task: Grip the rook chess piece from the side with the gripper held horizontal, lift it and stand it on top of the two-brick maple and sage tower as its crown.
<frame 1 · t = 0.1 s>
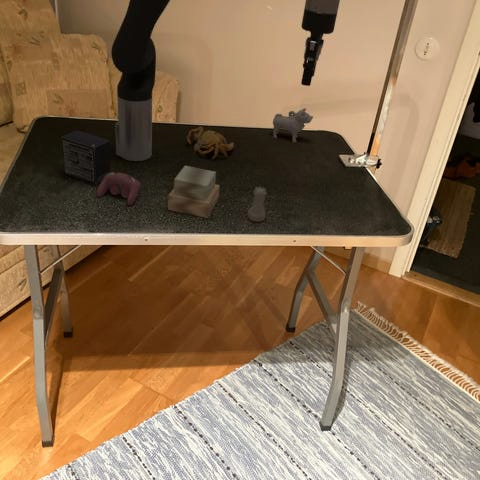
hand: (307, 80, 121), 29 cm above the table, tool pointing down, fingers open, 8 cm apart
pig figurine: (288, 138, 166), on the table
video game controller: (119, 198, 122), on the table
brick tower: (193, 204, 123), on the table
crab model: (211, 150, 152), on the table
rook chess piece: (256, 218, 121), on the table
small box: (88, 176, 130), on the table
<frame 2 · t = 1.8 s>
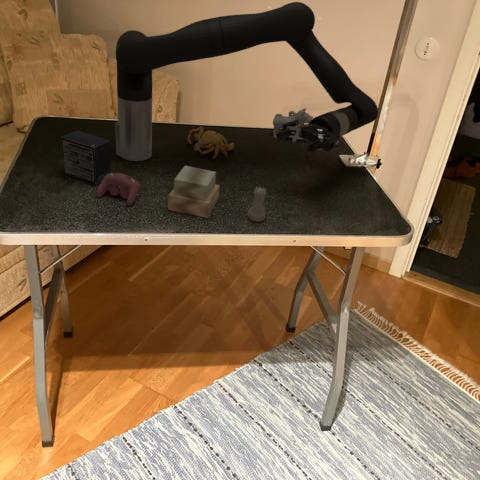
hand: (294, 142, 119), 17 cm above the table, tool horizontal, fingers open, 8 cm apart
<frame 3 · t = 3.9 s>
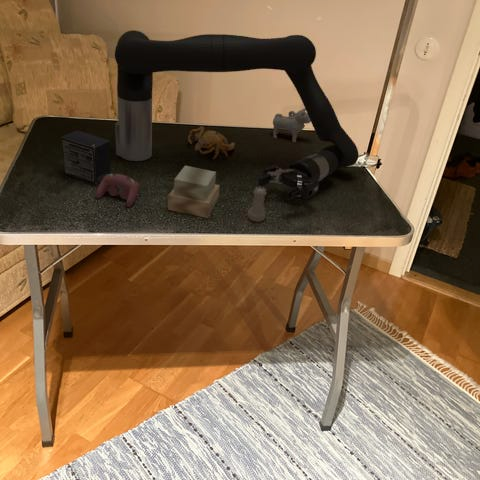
hand: (273, 189, 122), 6 cm above the table, tool horizontal, fingers open, 8 cm apart
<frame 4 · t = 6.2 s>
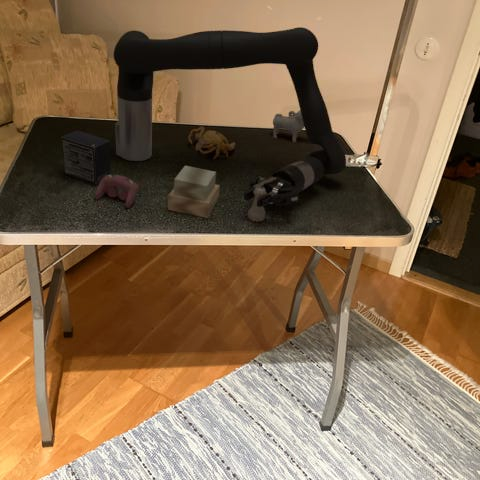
hand: (252, 199, 116), 6 cm above the table, tool horizontal, fingers closed on rook chess piece, 3 cm apart
rook chess piece: (256, 218, 121), on the table, touching gripper
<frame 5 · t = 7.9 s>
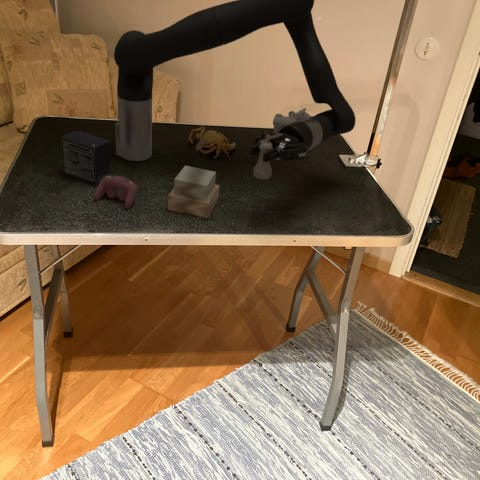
hand: (257, 154, 110), 18 cm above the table, tool horizontal, fingers closed on rook chess piece, 3 cm apart
rook chess piece: (261, 176, 115), point 11 cm above the table, touching gripper
when the fingers open (15 cm above the table, at t = 10.0 s): rook chess piece drops 1 cm, resting on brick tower.
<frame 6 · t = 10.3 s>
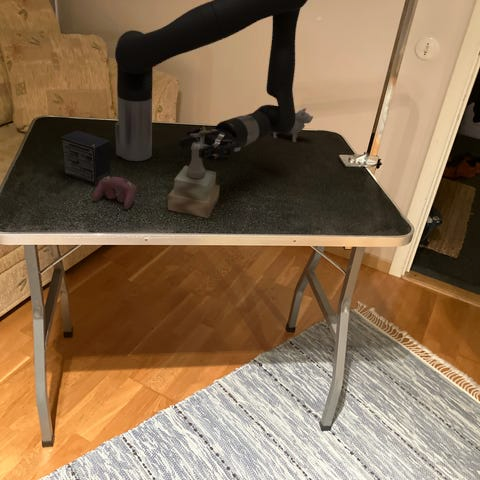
hand: (190, 149, 113), 16 cm above the table, tool horizontal, fingers open, 6 cm apart
rook chess piece: (195, 175, 119), point 8 cm above the table, touching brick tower
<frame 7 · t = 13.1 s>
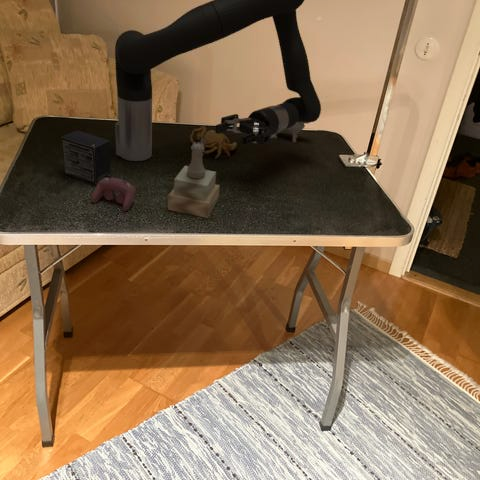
hand: (229, 135, 122), 16 cm above the table, tool horizontal, fingers open, 8 cm apart
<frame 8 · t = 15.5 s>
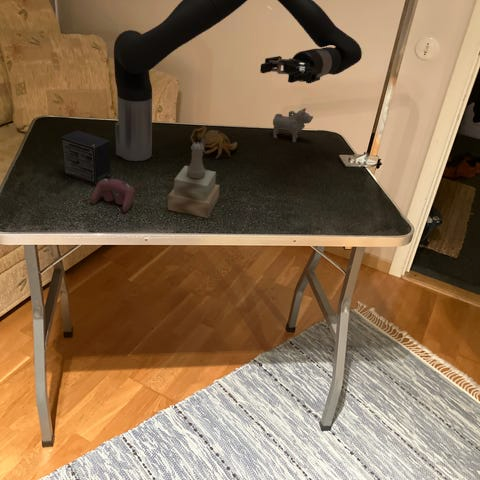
hand: (275, 73, 120), 30 cm above the table, tool horizontal, fingers open, 8 cm apart
at the end: rook chess piece 0.2 cm off-centre on the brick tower, point 7.8 cm above the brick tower's base; rook chess piece tilted 0°; the gripper is holding nothing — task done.
